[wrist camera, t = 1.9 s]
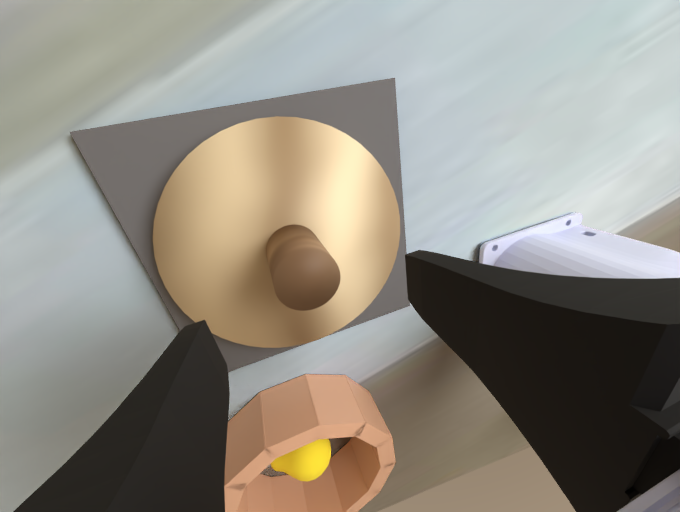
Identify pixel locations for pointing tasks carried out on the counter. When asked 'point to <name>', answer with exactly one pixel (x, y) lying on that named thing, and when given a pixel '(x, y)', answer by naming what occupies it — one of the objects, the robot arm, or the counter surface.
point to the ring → (299, 430)
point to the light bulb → (305, 461)
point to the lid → (276, 232)
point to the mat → (195, 127)
